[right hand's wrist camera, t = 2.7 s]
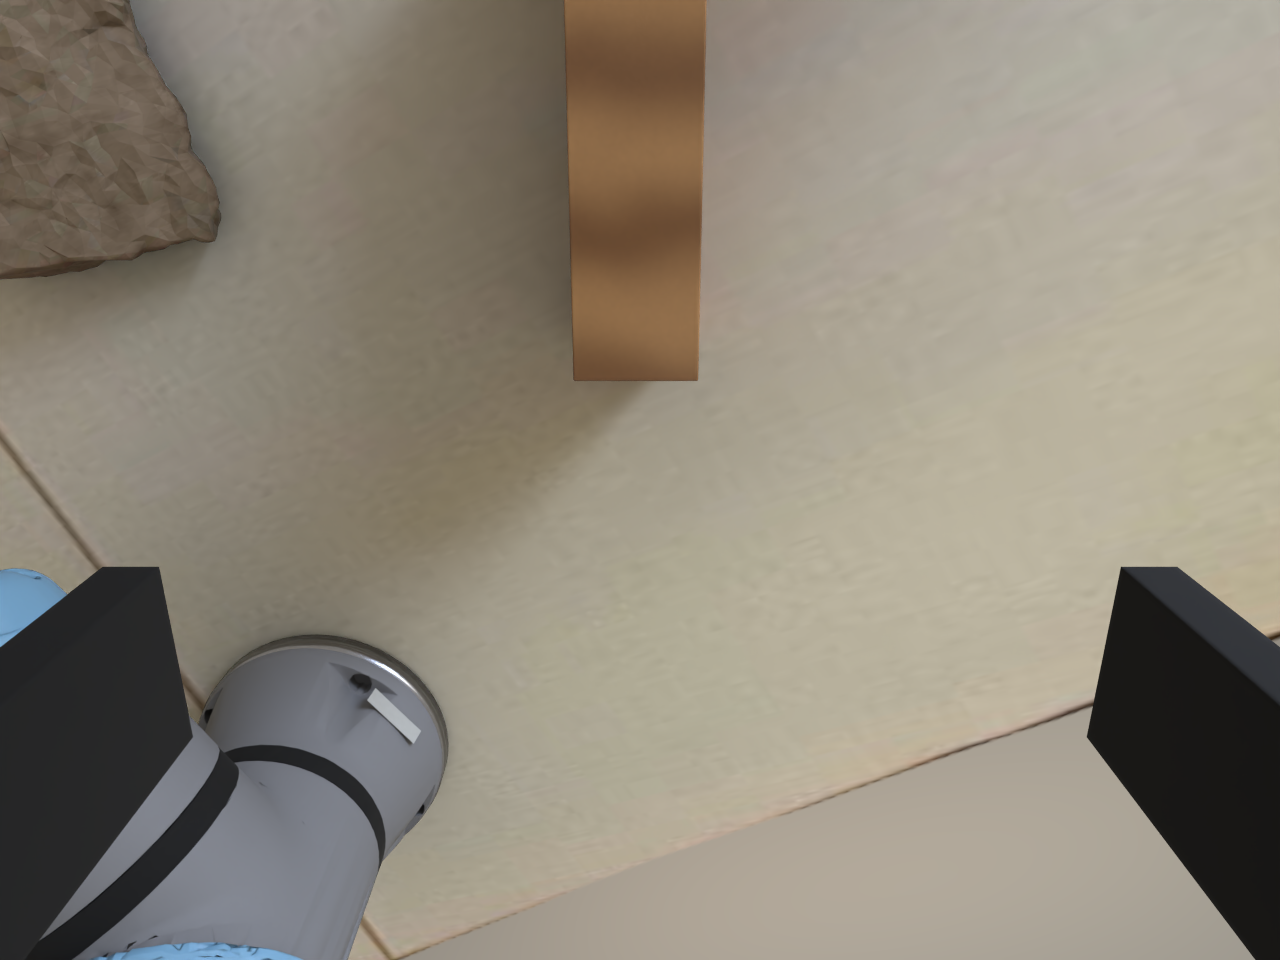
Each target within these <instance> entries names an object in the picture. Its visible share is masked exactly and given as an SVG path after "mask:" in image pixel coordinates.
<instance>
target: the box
mask: <svg viewBox="0 0 1280 960" xmlns="http://www.w3.org/2000/svg"><path fill="white" fill-rule="evenodd" d="M706 5H707V0H564V25H565V64H566V103H567V142H568V181H569V220H570V259H571V298H572V337H573V376H574V381H697V380H698V361H699V317H700V272H701V228H702V183H703V138H704V94H705V49H706Z"/></svg>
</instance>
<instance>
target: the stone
mask: <svg viewBox="0 0 1280 960" xmlns="http://www.w3.org/2000/svg"><path fill="white" fill-rule="evenodd" d="M219 203H220V202H219V199H218V196H217V192H216V187H215V185H214V182H213V180H212V179H211V177H210V175H209V174H208V172H207V170H206V167H205V166H204V164H203V163H202V162H201V160H200V159H199V158H198V157H197V156H196V155H195V153H194V152H193V151H192V149H191V135H190V132H189V129H188V124H187V116H186V113H185V111H184V109H183V108H182V106H181V104H180V103H179V101H178V100H177V98H176V97H175V96H174V94H173V93H172V92H171V91H170V90H169V89H168V88H167V86H166V85H165V83H164V81H163V80H162V78H161V76H160V74H159V72H158V70H157V69H156V67H155V65H154V64H153V62H152V60H151V59H150V58H149V57H148V54H147V48H146V43H145V41H144V39H143V38H142V36H141V34H140V33H139V31H138V30H137V28H136V25H135V20H134V16H133V13H132V10H131V6H130V2H129V0H0V279H13V278H29V277H37V276H44V277H47V276H52V275H57V274H62V273H66V272H80V271H83V270H86V269H89V268H93V267H97V266H99V265H100V264H101V263H103V262H104V261H106V260H133V259H135V258H136V257H138V256H140V255H141V254H143V253H146V252H151V251H156V250H161V249H165V248H166V247H168V246H170V245H173V244H179V243H182V242H185V241H188V240H191V239H195V240H197V241H200V242H214V241H215V239H216V237H217V230H218V225H219V223H220V220H221V213H220V211H219V210H218V208H219Z"/></svg>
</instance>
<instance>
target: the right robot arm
mask: <svg viewBox="0 0 1280 960" xmlns="http://www.w3.org/2000/svg"><path fill="white" fill-rule="evenodd" d="M1087 738H1088V739H1089V740H1090V742H1091V743H1092V744H1093V746H1094V747H1095V748H1096V750H1097V751H1098V752H1099V754H1100V755H1101V756H1102V758H1103V759H1104V760H1105V762H1106V763H1107V764H1108V766H1109V767H1110V768H1111V770H1112V771H1113V772H1114V773H1115V775H1116V776H1117V777H1118V779H1119V780H1120V781H1121V783H1122V784H1123V785H1124V787H1125V788H1126V789H1127V791H1128V792H1129V793H1130V795H1131V796H1132V797H1133V799H1134V800H1135V801H1136V802H1137V804H1138V805H1139V806H1140V808H1141V809H1142V811H1143V812H1144V813H1145V814H1146V816H1147V817H1148V818H1149V820H1150V821H1151V822H1152V824H1153V825H1154V826H1155V828H1156V829H1157V830H1158V832H1159V833H1160V834H1161V835H1162V837H1163V838H1164V840H1165V841H1166V842H1167V844H1168V845H1169V846H1170V848H1171V849H1172V850H1173V851H1174V853H1175V854H1176V855H1177V857H1178V858H1179V859H1180V861H1181V862H1182V863H1183V865H1184V866H1185V867H1186V869H1187V870H1188V871H1189V873H1190V874H1191V875H1192V876H1193V878H1194V879H1195V880H1196V882H1197V883H1198V884H1199V886H1200V887H1201V888H1202V890H1203V891H1204V892H1205V894H1206V895H1207V896H1208V898H1209V899H1210V900H1211V902H1212V903H1213V904H1214V906H1215V907H1216V908H1217V910H1218V911H1219V912H1220V914H1221V915H1222V916H1223V918H1224V919H1225V920H1226V921H1227V923H1228V924H1229V925H1230V927H1231V928H1232V929H1233V931H1234V932H1235V933H1236V935H1237V936H1238V937H1239V939H1240V940H1241V941H1242V943H1243V944H1244V945H1245V946H1246V948H1247V949H1248V950H1249V952H1250V953H1251V954H1252V956H1253V957H1254V958H1255V960H1280V647H1279V646H1278V645H1276V644H1275V643H1274V642H1273V641H1271V640H1270V639H1269V638H1267V637H1266V636H1265V635H1264V634H1262V633H1261V632H1260V631H1258V630H1257V629H1256V628H1255V627H1253V626H1252V625H1251V624H1250V623H1248V622H1247V621H1246V620H1244V619H1243V618H1242V617H1241V616H1239V615H1238V614H1237V613H1235V612H1234V611H1233V610H1232V609H1230V608H1229V607H1228V606H1227V605H1225V604H1224V603H1223V602H1221V601H1220V600H1219V599H1218V598H1216V597H1215V596H1214V595H1212V594H1211V593H1210V592H1209V591H1207V590H1206V589H1205V588H1203V587H1202V586H1201V585H1200V584H1198V583H1197V582H1196V581H1195V580H1193V579H1192V578H1191V577H1189V576H1188V575H1187V574H1186V573H1184V572H1183V571H1182V570H1180V569H1179V568H1178V567H1121V570H1120V575H1119V580H1118V585H1117V590H1116V595H1115V600H1114V605H1113V609H1112V614H1111V619H1110V624H1109V629H1108V634H1107V639H1106V644H1105V649H1104V654H1103V659H1102V664H1101V669H1100V674H1099V679H1098V684H1097V689H1096V694H1095V699H1094V704H1093V709H1092V714H1091V719H1090V724H1089V729H1088V734H1087ZM447 757H448V736H447V730H446V725H445V721H444V718H443V716H442V713H441V711H440V708H439V706H438V704H437V702H436V701H435V699H434V697H433V696H432V694H431V693H430V691H429V690H428V689H427V687H426V686H425V685H424V684H423V682H422V681H421V680H420V679H419V678H418V677H417V676H416V675H415V674H414V673H413V672H412V671H411V670H410V669H408V668H407V667H406V666H405V665H403V664H402V663H401V662H399V661H398V660H396V659H395V658H393V657H392V656H390V655H388V654H386V653H385V652H383V651H381V650H379V649H377V648H374V647H372V646H370V645H367V644H364V643H361V642H358V641H355V640H351V639H347V638H342V637H336V636H327V635H303V636H294V637H289V638H284V639H280V640H277V641H273V642H271V643H268V644H266V645H263V646H261V647H259V648H257V649H255V650H253V651H252V652H250V653H249V654H247V655H246V656H244V657H243V658H242V659H240V660H239V661H238V662H237V663H236V664H235V665H234V666H233V667H232V668H231V669H230V670H229V671H228V672H227V674H226V675H225V676H224V677H223V679H222V680H221V681H220V682H219V684H218V685H217V686H216V688H215V689H214V690H213V692H212V693H211V695H210V697H209V699H208V700H207V702H206V705H205V707H204V710H203V712H202V715H201V718H200V721H199V725H198V724H197V723H196V722H195V721H194V720H193V719H192V718H191V717H190V716H189V714H188V709H187V704H186V699H185V694H184V689H183V684H182V679H181V674H180V669H179V664H178V659H177V654H176V649H175V644H174V639H173V634H172V629H171V624H170V619H169V614H168V609H167V605H166V600H165V595H164V590H163V585H162V580H161V575H160V570H159V567H102V568H101V569H100V570H98V571H97V572H96V573H94V574H93V575H92V576H91V577H89V578H88V579H87V580H85V581H84V582H83V583H82V584H80V585H79V586H78V587H77V588H75V589H74V590H73V591H71V592H70V593H69V594H68V595H67V594H66V593H65V592H64V591H63V590H62V589H61V588H60V587H59V586H58V585H57V584H56V583H55V582H53V581H52V580H51V579H50V578H48V577H46V576H45V575H43V574H41V573H38V572H36V571H33V570H28V569H17V568H15V569H5V570H0V960H348V957H349V954H350V951H351V948H352V945H353V942H354V939H355V936H356V934H357V931H358V928H359V925H360V922H361V919H362V917H363V914H364V911H365V908H366V905H367V902H368V900H369V897H370V894H371V891H372V888H373V885H374V883H375V879H376V877H377V874H378V871H379V868H380V866H381V863H382V861H383V860H384V859H385V858H386V857H387V856H388V854H389V853H390V852H391V851H392V850H393V849H394V848H395V847H396V846H397V844H398V843H399V842H400V841H401V839H402V838H403V836H404V835H405V834H406V833H408V832H409V831H410V830H411V829H412V828H413V827H414V826H415V825H416V824H417V823H418V821H419V820H420V819H421V818H422V817H423V815H424V814H425V813H426V811H427V809H428V808H429V807H430V805H431V804H432V802H433V800H434V798H435V796H436V794H437V792H438V789H439V787H440V784H441V780H442V777H443V774H444V771H445V767H446V763H447Z"/></svg>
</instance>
